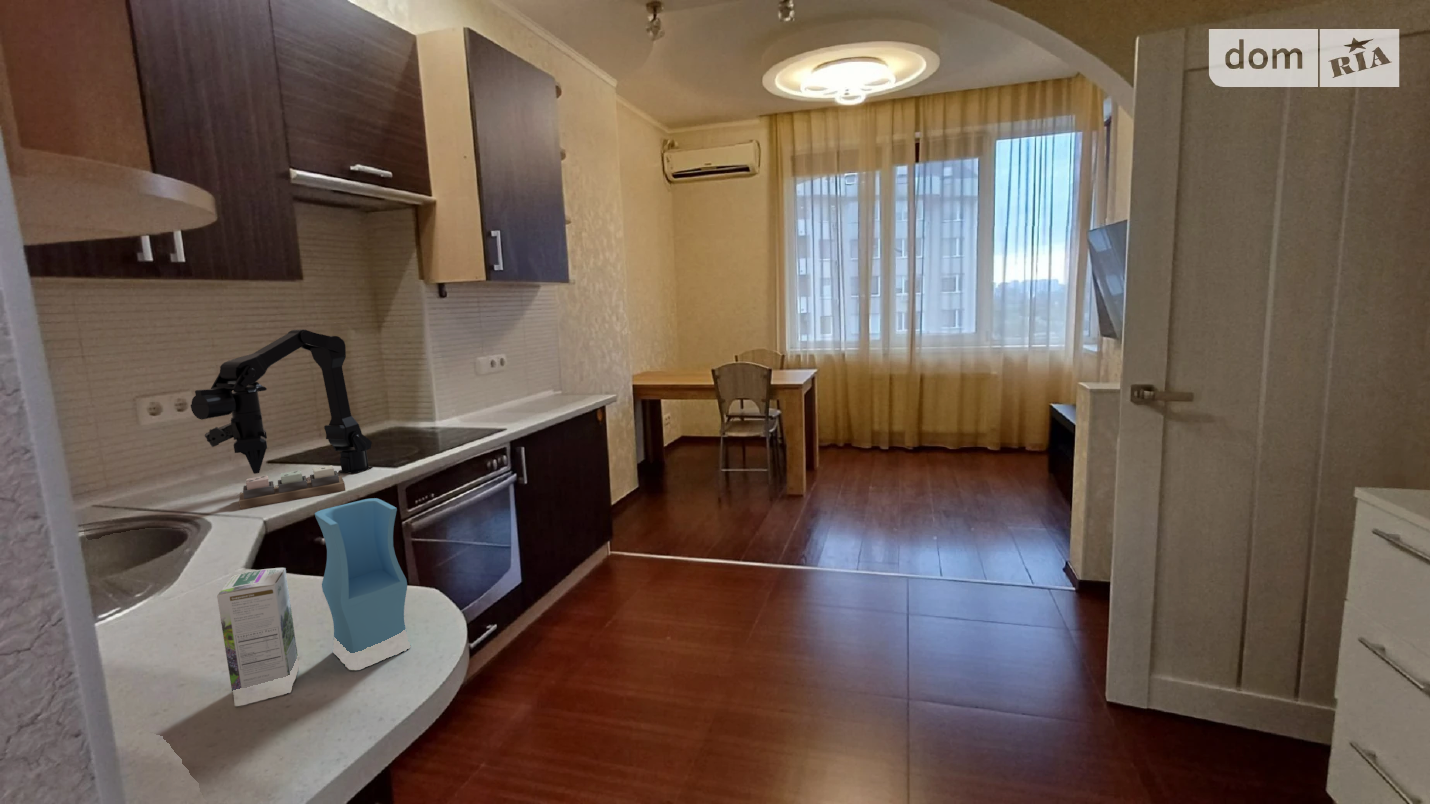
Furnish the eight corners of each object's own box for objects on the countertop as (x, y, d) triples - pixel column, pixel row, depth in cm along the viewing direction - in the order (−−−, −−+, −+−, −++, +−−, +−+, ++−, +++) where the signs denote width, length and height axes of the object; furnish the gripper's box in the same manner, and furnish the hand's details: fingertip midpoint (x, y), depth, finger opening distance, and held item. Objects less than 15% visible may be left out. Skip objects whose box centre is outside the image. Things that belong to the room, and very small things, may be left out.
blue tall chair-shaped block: (351, 674, 78) (329, 525, 75) (331, 652, 84) (310, 512, 80) (415, 647, 84) (397, 507, 81) (392, 628, 89) (375, 496, 86)
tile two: (302, 477, 160) (300, 470, 160) (302, 481, 157) (301, 473, 157) (281, 480, 158) (280, 473, 158) (282, 484, 154) (280, 476, 154)
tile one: (333, 472, 164) (332, 465, 164) (334, 475, 161) (333, 468, 161) (313, 475, 162) (312, 468, 162) (314, 479, 158) (313, 471, 158)
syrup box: (246, 683, 77) (227, 574, 75) (302, 669, 80) (285, 564, 77) (234, 709, 72) (213, 594, 70) (293, 694, 75) (275, 582, 72)
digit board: (342, 482, 168) (340, 468, 167) (345, 490, 161) (343, 475, 160) (241, 500, 155) (238, 485, 155) (240, 509, 148) (237, 493, 147)
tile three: (269, 483, 156) (267, 475, 156) (269, 486, 153) (268, 478, 153) (247, 486, 154) (246, 478, 154) (247, 490, 150) (245, 482, 150)
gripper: (206, 411, 153) (217, 471, 156) (200, 421, 138) (212, 488, 141) (261, 405, 160) (271, 463, 162) (261, 414, 145) (272, 478, 147)
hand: (256, 473), depth 153 cm, fingers closed
